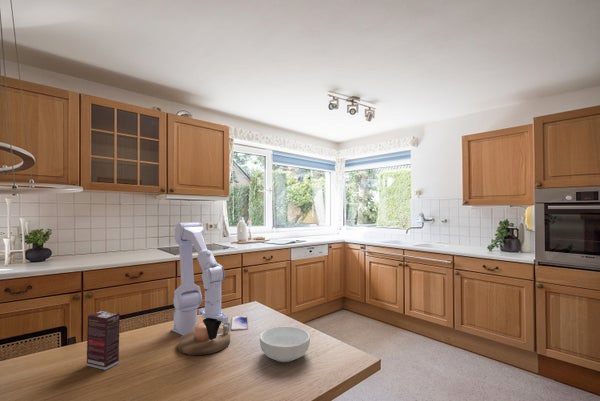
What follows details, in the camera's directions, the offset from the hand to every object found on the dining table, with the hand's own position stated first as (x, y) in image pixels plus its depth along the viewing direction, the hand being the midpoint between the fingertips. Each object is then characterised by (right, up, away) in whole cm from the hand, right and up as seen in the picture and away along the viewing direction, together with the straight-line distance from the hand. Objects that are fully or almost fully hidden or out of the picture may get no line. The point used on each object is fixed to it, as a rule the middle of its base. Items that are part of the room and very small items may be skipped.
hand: (212, 338), depth 104 cm
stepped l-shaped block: (+2, -4, +13) cm, 14 cm away
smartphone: (+5, -5, +22) cm, 23 cm away
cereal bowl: (+26, -3, -6) cm, 27 cm away
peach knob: (-4, -1, +3) cm, 5 cm away
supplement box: (-32, -3, -11) cm, 34 cm away
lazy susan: (-4, -3, +3) cm, 6 cm away
